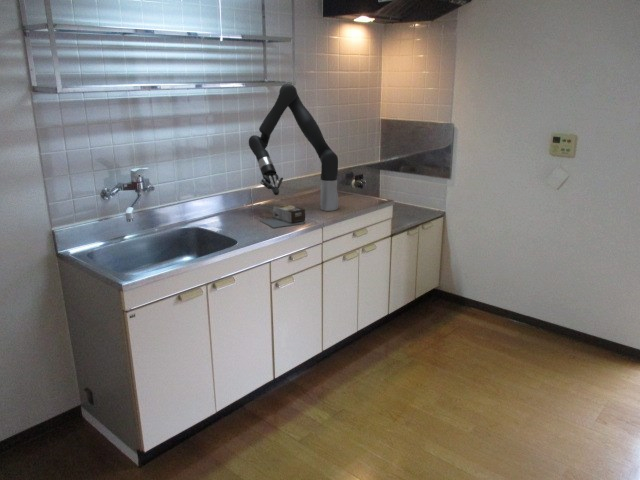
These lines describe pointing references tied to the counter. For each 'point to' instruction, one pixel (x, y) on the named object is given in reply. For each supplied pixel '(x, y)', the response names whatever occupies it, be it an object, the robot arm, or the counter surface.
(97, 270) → the counter surface
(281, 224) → the rubber mat
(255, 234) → the counter surface
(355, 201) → the counter surface
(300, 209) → the coffee box
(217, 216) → the counter surface
